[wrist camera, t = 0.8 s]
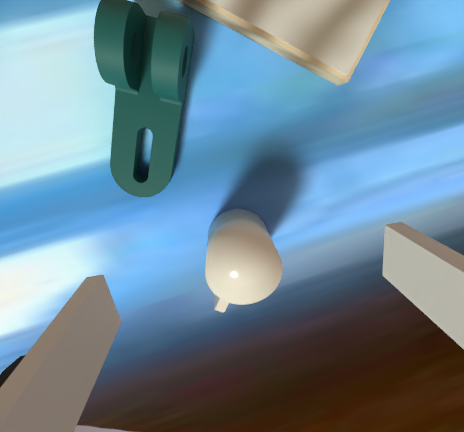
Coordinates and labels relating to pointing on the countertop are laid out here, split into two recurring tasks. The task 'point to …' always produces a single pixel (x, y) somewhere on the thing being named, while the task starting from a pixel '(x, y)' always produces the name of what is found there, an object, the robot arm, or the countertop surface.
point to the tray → (303, 29)
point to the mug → (241, 259)
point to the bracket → (143, 87)
